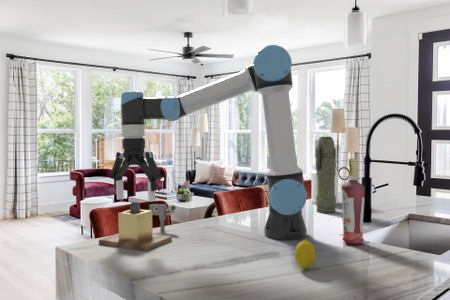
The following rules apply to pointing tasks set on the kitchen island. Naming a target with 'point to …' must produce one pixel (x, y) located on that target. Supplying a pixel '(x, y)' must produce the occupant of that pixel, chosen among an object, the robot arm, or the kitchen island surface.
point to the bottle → (314, 183)
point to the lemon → (305, 254)
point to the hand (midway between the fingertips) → (135, 200)
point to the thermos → (326, 175)
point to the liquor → (353, 207)
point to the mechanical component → (161, 212)
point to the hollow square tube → (135, 225)
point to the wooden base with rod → (141, 245)
